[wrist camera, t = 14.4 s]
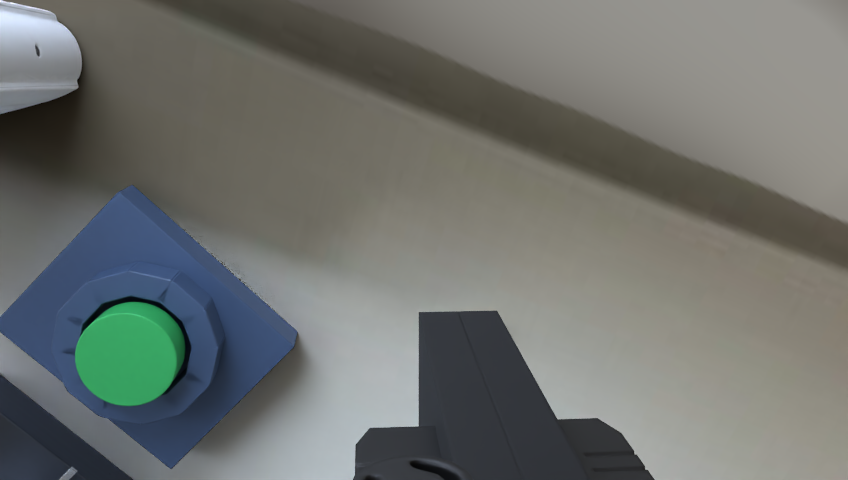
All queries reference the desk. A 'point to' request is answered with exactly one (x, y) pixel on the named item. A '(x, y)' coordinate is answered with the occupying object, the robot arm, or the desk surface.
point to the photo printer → (35, 57)
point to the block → (170, 291)
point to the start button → (130, 354)
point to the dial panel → (44, 444)
